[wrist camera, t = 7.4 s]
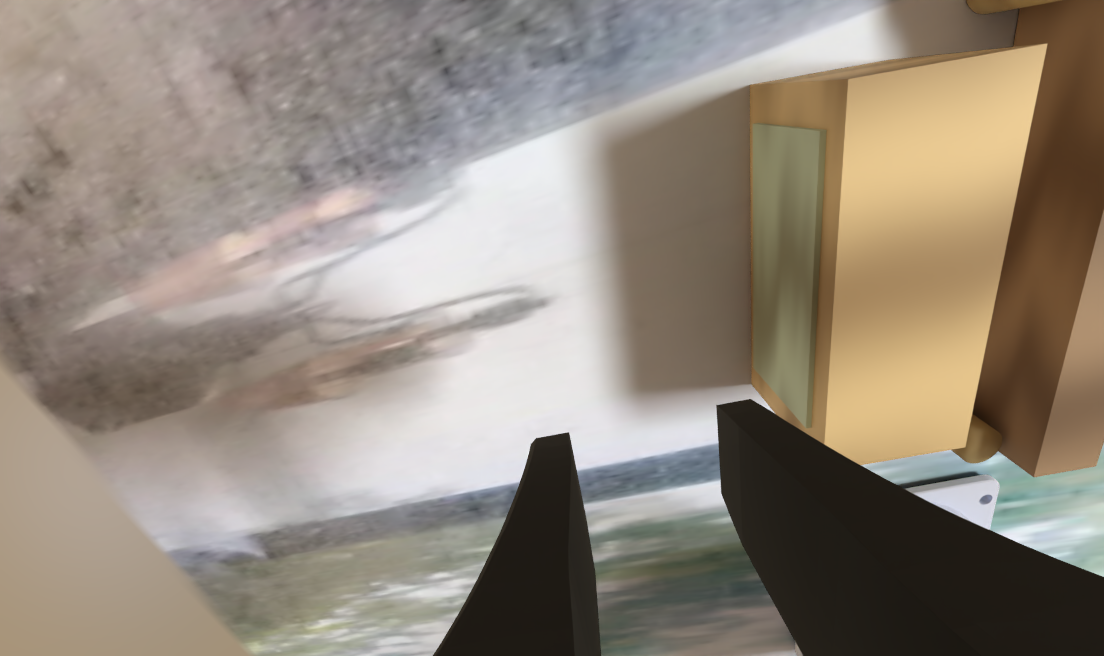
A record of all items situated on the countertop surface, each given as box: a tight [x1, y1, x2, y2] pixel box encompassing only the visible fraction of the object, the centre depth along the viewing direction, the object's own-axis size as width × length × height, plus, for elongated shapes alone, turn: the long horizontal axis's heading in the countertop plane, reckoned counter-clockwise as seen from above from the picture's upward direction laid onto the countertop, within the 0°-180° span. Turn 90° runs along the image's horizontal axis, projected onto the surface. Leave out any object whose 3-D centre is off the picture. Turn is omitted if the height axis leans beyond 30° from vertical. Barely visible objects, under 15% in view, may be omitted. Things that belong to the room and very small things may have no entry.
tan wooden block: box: [750, 43, 1048, 465], centre depth 15 cm, size 10×4×5 cm, turn 9°
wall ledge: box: [952, 0, 1104, 477], centre depth 15 cm, size 18×4×4 cm, turn 10°
